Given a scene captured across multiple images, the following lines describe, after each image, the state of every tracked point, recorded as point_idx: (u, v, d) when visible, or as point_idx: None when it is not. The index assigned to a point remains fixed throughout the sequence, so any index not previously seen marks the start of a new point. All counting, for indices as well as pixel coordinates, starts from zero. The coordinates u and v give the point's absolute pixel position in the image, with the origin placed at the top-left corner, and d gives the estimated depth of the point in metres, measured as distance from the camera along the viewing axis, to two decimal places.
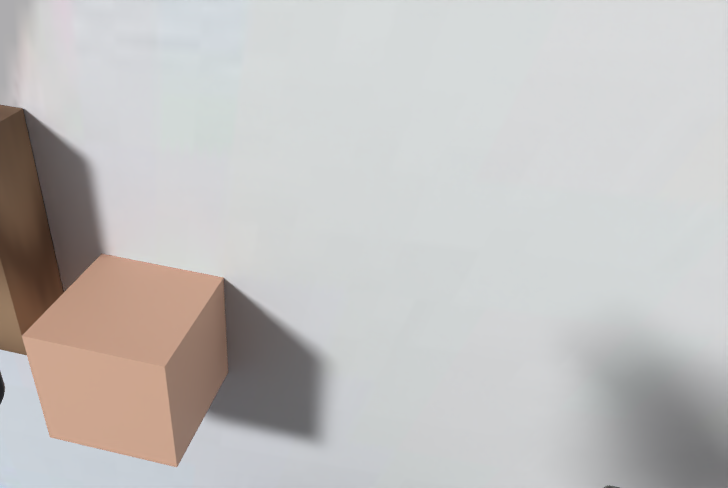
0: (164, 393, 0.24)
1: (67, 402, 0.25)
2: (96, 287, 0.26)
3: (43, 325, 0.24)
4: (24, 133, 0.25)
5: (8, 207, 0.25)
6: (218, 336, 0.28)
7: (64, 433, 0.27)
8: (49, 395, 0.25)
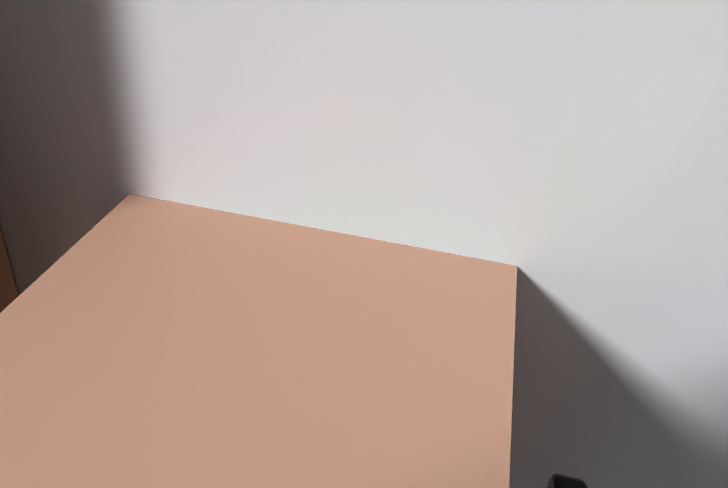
0: None
1: None
2: (117, 295, 0.08)
3: None
4: None
5: None
6: None
7: None
8: None
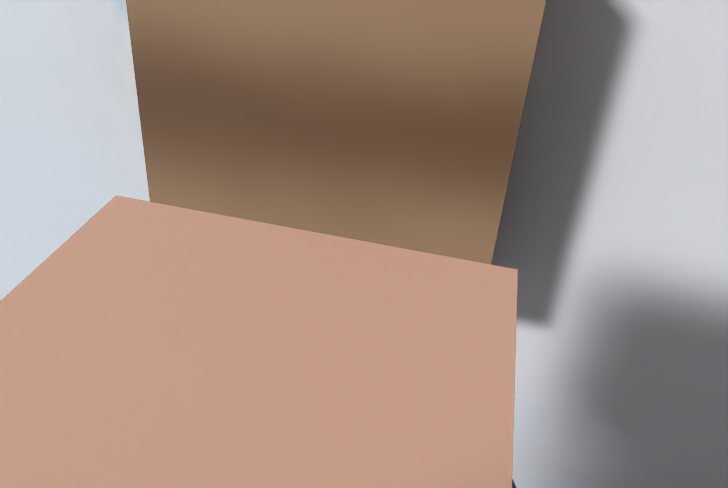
0: None
1: None
2: (97, 307, 0.07)
3: None
4: None
5: None
6: None
7: None
8: None
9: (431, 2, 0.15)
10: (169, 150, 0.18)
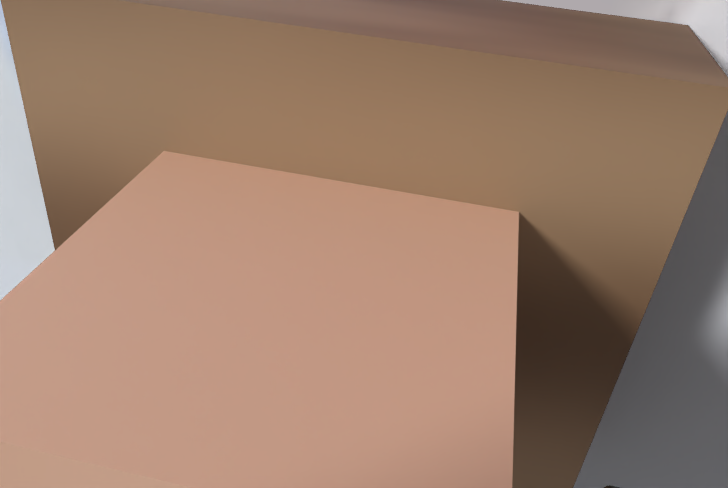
0: None
1: None
2: (159, 236, 0.08)
3: None
4: None
5: None
6: None
7: None
8: None
9: (512, 153, 0.09)
10: None
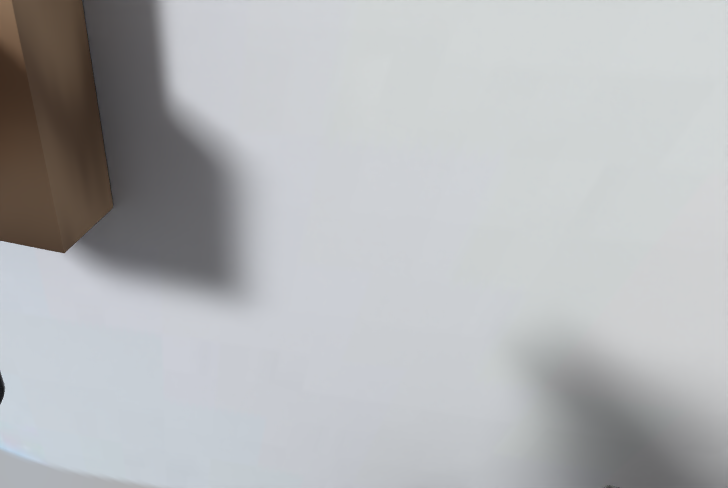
0: None
1: None
2: None
3: None
4: None
5: (44, 29, 0.18)
6: None
7: None
8: None
9: None
10: None
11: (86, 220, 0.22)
